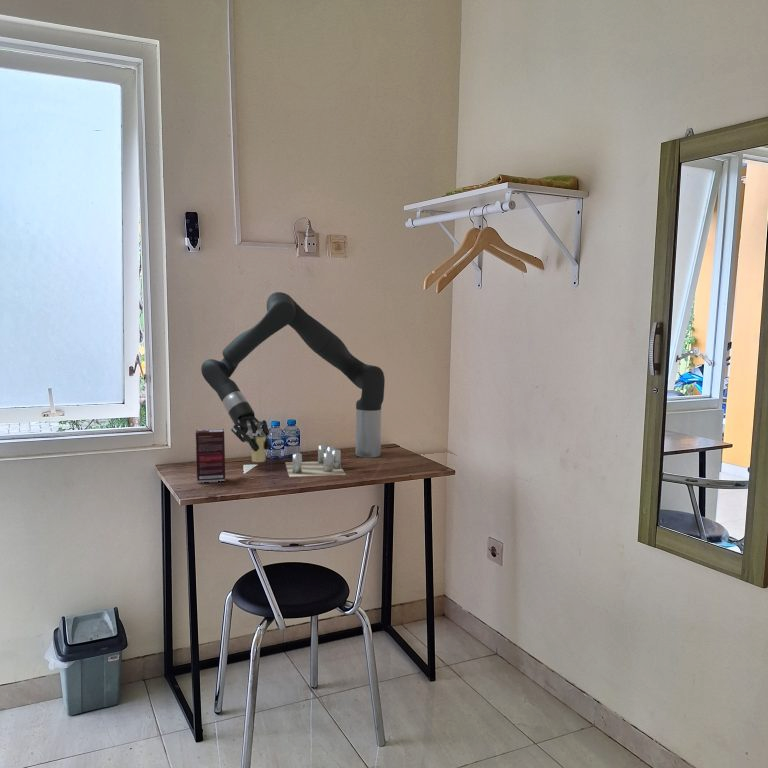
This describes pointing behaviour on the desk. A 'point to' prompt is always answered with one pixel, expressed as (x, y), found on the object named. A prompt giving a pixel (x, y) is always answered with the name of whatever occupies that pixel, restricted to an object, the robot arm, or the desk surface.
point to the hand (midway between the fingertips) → (262, 448)
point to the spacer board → (312, 470)
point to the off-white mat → (248, 467)
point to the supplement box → (210, 455)
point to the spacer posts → (321, 459)
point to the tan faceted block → (261, 453)
